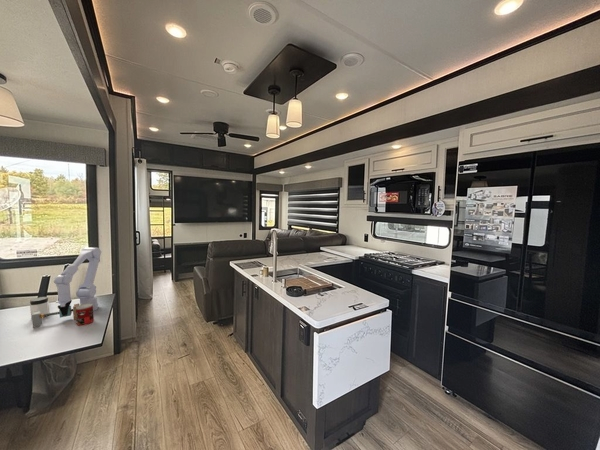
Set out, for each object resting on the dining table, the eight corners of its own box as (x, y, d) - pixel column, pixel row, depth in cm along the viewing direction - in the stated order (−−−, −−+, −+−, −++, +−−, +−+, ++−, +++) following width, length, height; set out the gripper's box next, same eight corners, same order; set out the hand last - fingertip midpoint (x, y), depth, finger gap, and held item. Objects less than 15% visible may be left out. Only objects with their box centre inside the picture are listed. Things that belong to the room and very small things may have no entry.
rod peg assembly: (80, 314, 164) (79, 302, 164) (78, 319, 158) (77, 306, 157) (35, 323, 152) (34, 310, 151) (32, 328, 146) (31, 315, 145)
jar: (27, 319, 158) (25, 301, 157) (38, 314, 166) (37, 296, 165) (42, 318, 159) (41, 300, 158) (53, 313, 167) (52, 296, 166)
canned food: (74, 324, 151) (73, 307, 151) (90, 319, 159) (89, 302, 158) (80, 327, 148) (79, 309, 147) (96, 321, 155) (95, 304, 154)
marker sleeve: (71, 312, 161) (71, 305, 160) (70, 315, 157) (69, 308, 156) (61, 314, 158) (60, 307, 157) (59, 317, 154) (59, 310, 153)
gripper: (57, 291, 159) (59, 311, 160) (52, 298, 148) (54, 319, 149) (72, 289, 164) (73, 308, 165) (68, 295, 152) (70, 316, 153)
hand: (65, 313), depth 157 cm, fingers closed on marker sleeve, 5 cm apart
